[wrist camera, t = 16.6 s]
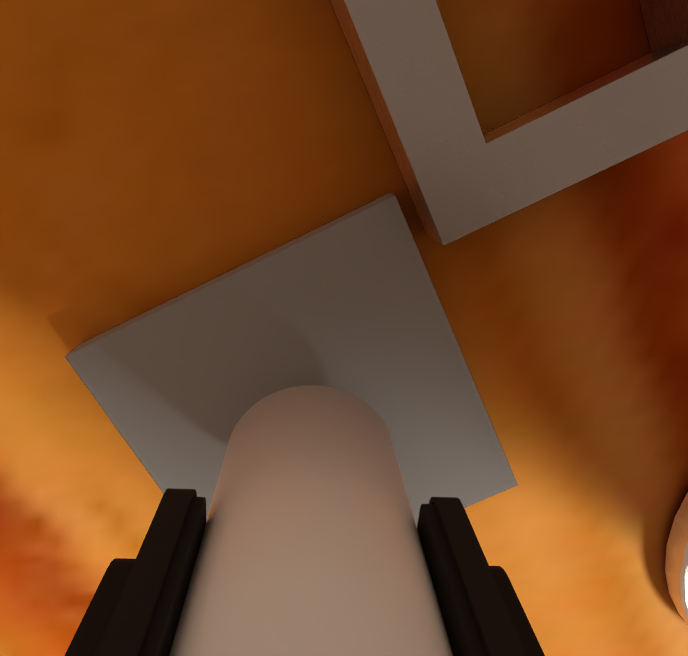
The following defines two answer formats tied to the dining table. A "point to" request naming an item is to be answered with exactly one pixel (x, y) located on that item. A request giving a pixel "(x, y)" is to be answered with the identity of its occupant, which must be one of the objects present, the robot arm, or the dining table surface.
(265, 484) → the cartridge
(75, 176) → the dining table surface
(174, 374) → the mat
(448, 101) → the collar
